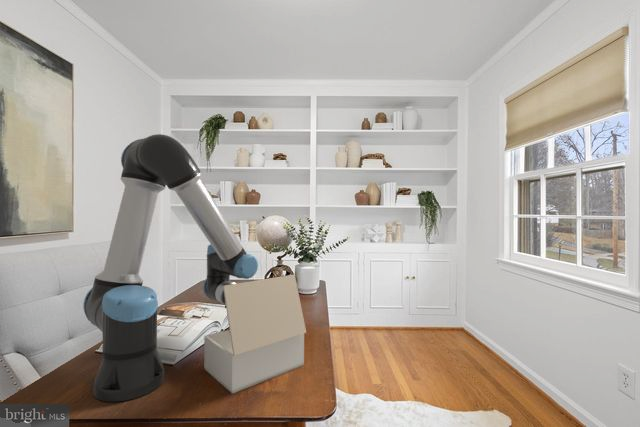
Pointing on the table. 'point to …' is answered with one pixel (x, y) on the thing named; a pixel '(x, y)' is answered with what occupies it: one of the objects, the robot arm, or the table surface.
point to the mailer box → (250, 360)
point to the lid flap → (263, 312)
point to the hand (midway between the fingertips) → (275, 312)
